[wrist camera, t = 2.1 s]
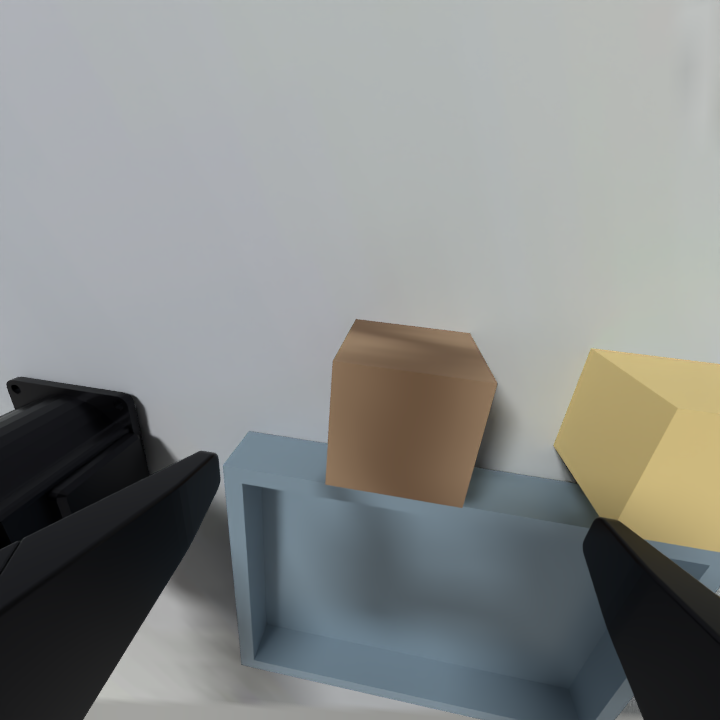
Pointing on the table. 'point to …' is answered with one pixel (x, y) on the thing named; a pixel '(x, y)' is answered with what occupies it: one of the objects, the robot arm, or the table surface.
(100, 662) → the robot arm
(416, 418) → the walnut block
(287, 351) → the table surface
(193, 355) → the table surface
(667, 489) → the ochre block
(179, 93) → the table surface
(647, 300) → the table surface
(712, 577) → the slate tray
